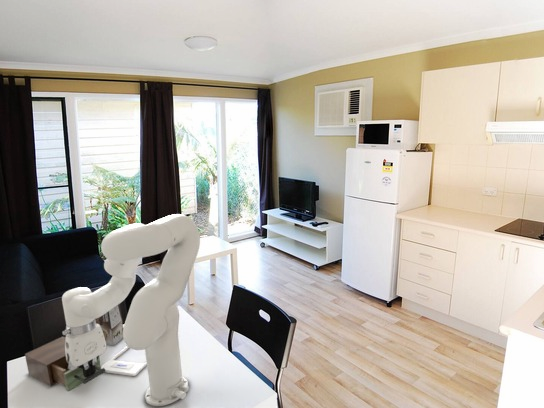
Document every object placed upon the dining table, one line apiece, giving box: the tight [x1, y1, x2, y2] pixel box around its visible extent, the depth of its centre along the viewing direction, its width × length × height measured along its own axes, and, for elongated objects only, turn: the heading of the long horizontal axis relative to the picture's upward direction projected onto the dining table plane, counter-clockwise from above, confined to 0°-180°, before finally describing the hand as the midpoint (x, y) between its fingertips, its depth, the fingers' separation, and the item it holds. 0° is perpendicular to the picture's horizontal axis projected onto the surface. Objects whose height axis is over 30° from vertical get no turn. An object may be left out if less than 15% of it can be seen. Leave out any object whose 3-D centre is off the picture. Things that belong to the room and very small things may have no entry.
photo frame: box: [101, 345, 147, 377], centre depth 130 cm, size 15×1×18 cm
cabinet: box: [24, 336, 66, 387], centre depth 123 cm, size 14×12×8 cm
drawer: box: [50, 357, 106, 392], centre depth 118 cm, size 19×10×6 cm, turn 65°
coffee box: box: [96, 303, 124, 346], centre depth 140 cm, size 9×6×16 cm
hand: (90, 376), depth 115 cm, fingers closed
